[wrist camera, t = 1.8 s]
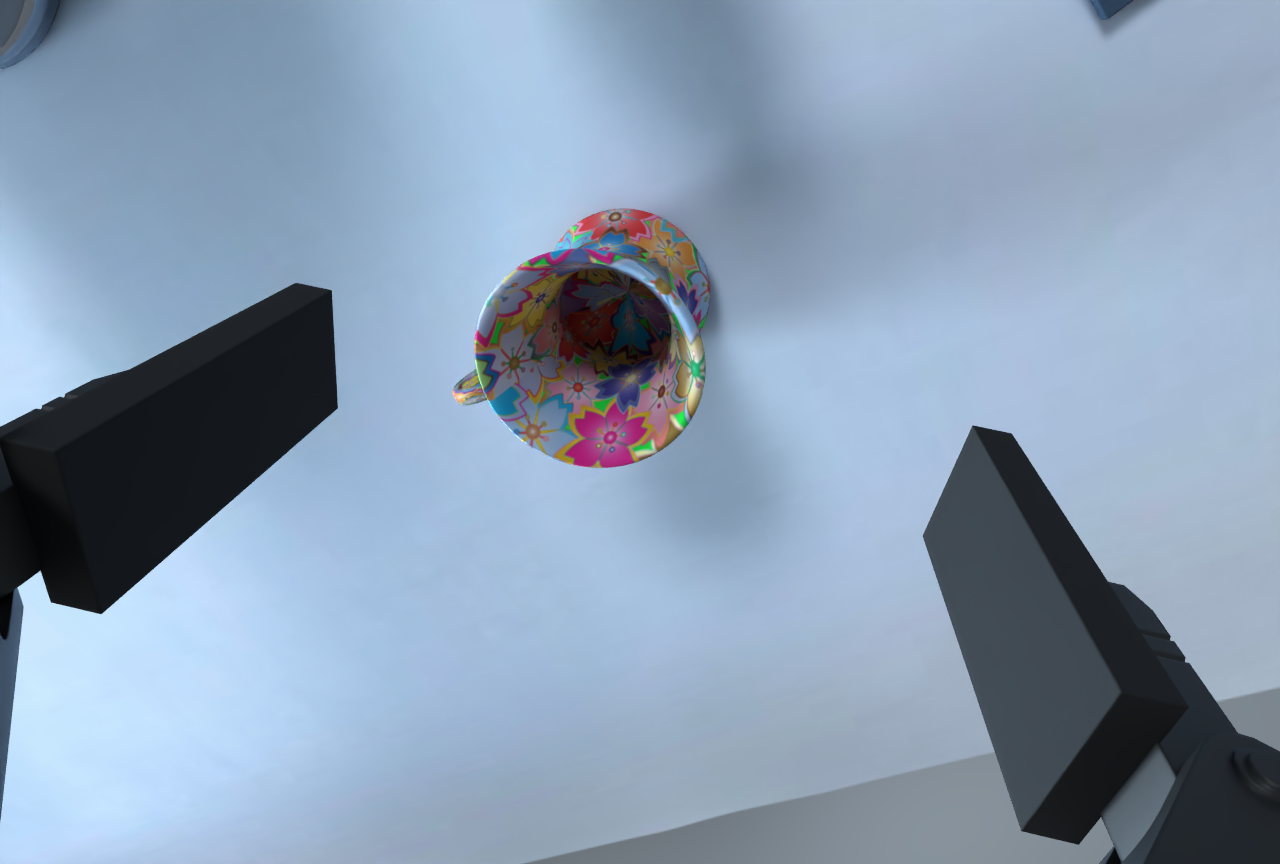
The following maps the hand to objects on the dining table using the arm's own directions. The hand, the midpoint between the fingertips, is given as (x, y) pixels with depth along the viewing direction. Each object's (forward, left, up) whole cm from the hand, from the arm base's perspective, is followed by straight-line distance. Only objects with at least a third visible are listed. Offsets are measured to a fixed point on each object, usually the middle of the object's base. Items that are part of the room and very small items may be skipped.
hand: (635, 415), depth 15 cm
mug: (+1, -7, -23) cm, 24 cm away
